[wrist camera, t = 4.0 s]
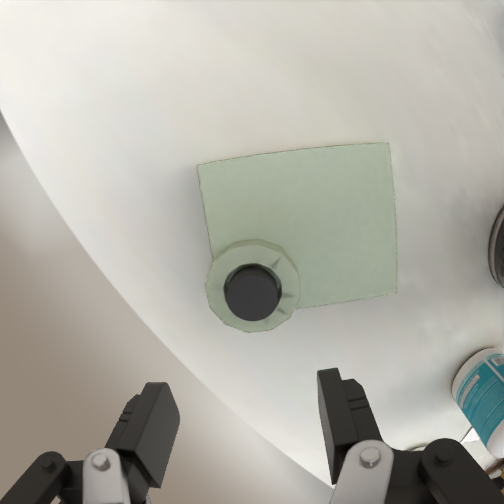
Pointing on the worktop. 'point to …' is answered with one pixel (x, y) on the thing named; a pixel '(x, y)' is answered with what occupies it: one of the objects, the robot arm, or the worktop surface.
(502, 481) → the figurine
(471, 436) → the white paper sheet
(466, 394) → the pill bottle
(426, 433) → the worktop surface
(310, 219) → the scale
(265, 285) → the black cylinder
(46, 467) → the robot arm
